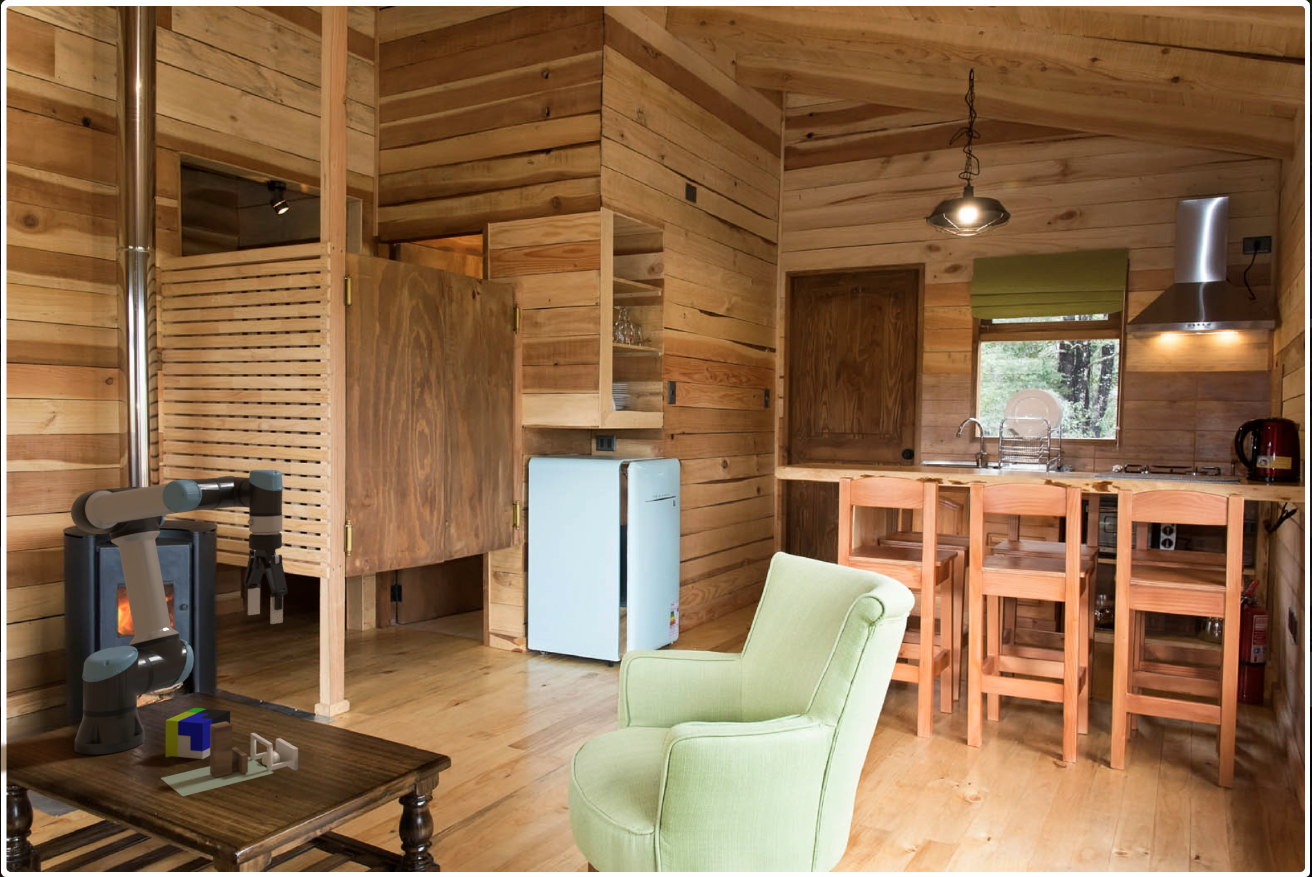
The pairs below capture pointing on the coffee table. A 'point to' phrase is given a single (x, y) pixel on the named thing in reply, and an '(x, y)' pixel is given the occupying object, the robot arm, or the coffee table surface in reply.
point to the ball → (274, 758)
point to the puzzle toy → (192, 732)
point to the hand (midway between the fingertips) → (264, 618)
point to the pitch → (206, 781)
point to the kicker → (225, 752)
